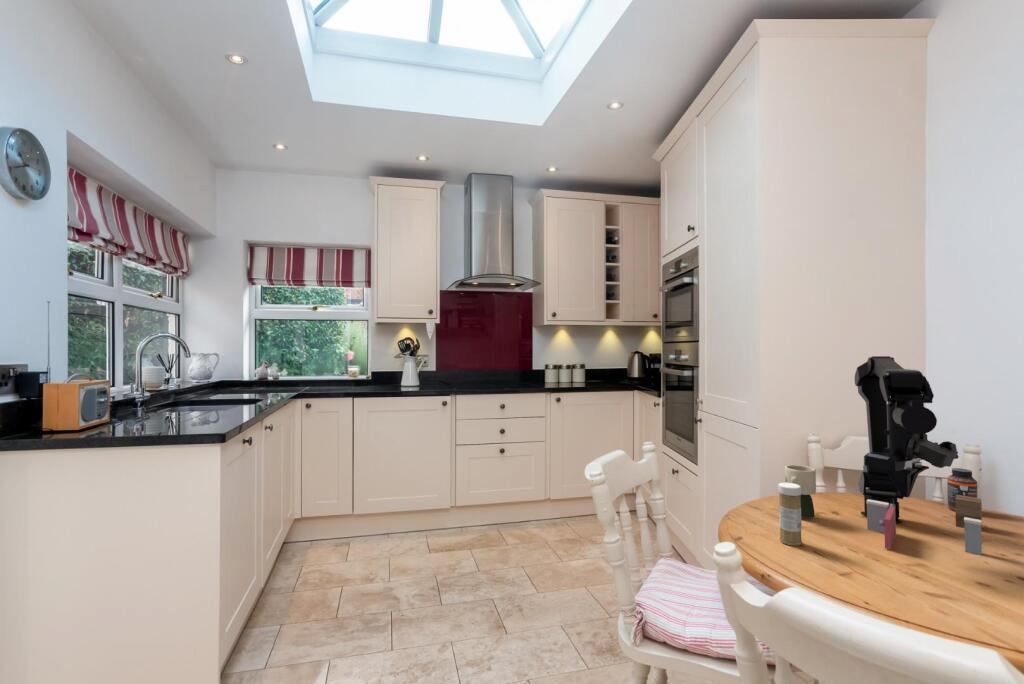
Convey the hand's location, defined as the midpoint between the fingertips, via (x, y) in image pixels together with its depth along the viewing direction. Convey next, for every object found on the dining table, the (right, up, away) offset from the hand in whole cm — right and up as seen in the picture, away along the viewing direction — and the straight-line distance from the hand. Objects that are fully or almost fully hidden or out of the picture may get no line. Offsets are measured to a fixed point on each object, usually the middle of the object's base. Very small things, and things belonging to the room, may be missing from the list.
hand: (905, 496), depth 103 cm
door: (0, -12, +5) cm, 13 cm away
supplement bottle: (+37, -12, +24) cm, 46 cm away
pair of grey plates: (+8, -12, +5) cm, 15 cm away
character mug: (-10, -13, +21) cm, 27 cm away
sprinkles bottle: (-23, -12, +5) cm, 26 cm away
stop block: (+27, -12, +13) cm, 33 cm away
